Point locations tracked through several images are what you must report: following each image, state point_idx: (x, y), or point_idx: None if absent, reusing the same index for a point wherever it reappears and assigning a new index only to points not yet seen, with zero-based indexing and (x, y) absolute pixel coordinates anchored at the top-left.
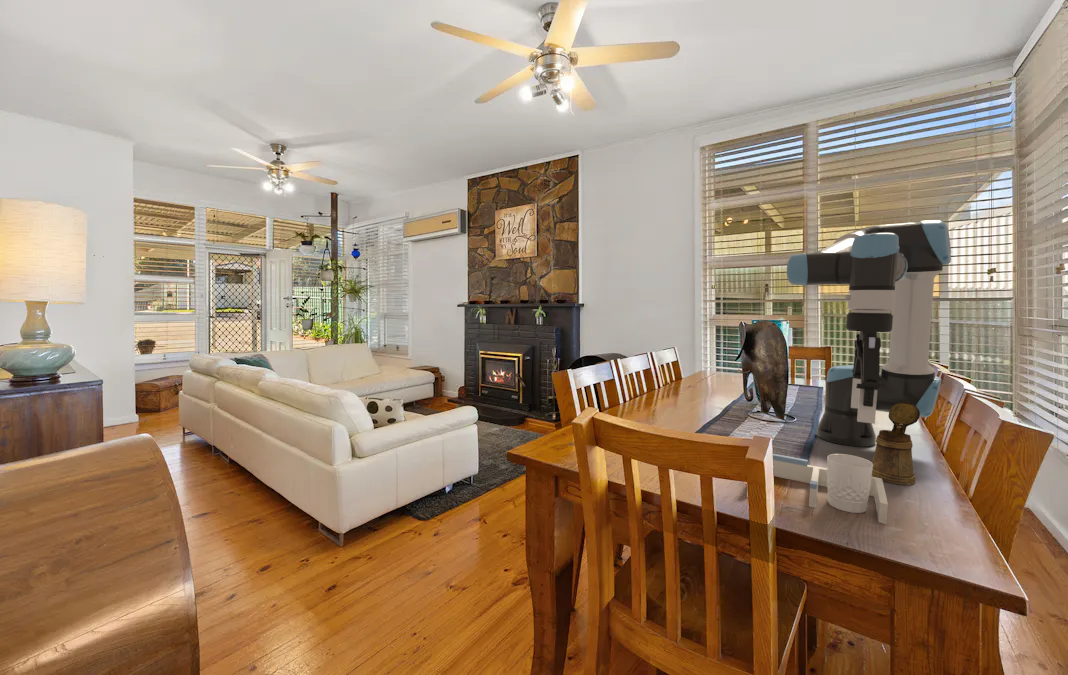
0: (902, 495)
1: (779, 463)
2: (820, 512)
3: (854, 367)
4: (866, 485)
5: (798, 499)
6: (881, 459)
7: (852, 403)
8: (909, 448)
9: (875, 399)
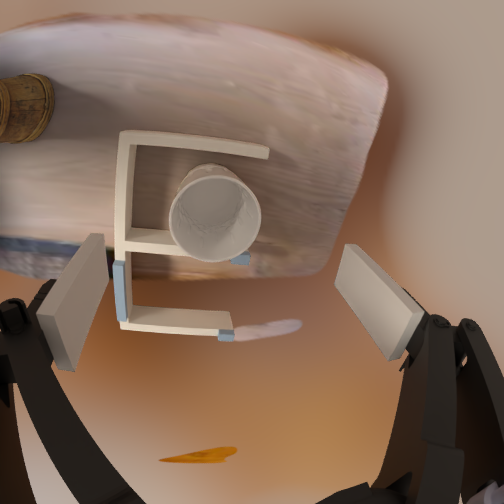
0: (106, 94)
1: (127, 299)
2: None
3: (12, 404)
4: (241, 180)
5: None
6: (20, 129)
7: (105, 287)
8: (1, 83)
9: (401, 291)
